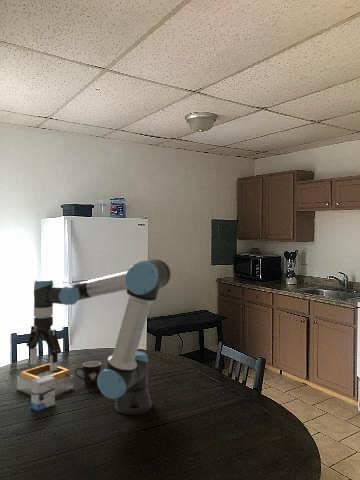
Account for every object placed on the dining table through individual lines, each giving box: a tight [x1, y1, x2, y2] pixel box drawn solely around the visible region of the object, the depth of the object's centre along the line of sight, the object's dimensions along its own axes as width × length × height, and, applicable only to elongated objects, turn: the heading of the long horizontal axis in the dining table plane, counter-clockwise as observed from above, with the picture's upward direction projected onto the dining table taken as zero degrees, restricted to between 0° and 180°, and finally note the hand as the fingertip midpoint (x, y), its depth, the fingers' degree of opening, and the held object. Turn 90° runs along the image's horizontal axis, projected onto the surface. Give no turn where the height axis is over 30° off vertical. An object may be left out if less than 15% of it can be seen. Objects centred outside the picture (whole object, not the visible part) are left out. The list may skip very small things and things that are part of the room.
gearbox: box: [16, 362, 74, 397], centre depth 186 cm, size 24×16×8 cm, turn 55°
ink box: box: [30, 375, 56, 412], centre depth 166 cm, size 8×5×12 cm, turn 143°
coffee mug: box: [74, 360, 102, 388], centre depth 191 cm, size 12×9×10 cm
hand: (43, 366), depth 167 cm, fingers open, 13 cm apart
